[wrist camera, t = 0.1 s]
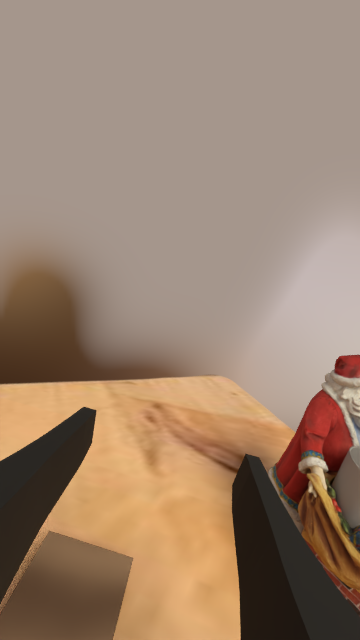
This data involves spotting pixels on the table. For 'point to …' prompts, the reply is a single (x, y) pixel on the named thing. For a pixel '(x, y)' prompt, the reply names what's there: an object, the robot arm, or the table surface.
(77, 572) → the walnut block
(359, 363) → the santa figurine
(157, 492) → the table surface
